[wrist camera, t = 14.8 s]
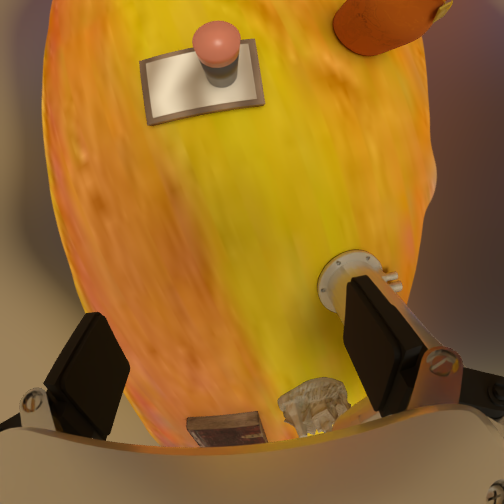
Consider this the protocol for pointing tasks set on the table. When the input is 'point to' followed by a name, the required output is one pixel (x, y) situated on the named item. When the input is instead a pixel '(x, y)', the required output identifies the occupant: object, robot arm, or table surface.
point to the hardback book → (227, 430)
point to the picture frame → (197, 85)
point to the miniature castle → (314, 405)
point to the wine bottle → (385, 23)
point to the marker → (218, 52)
